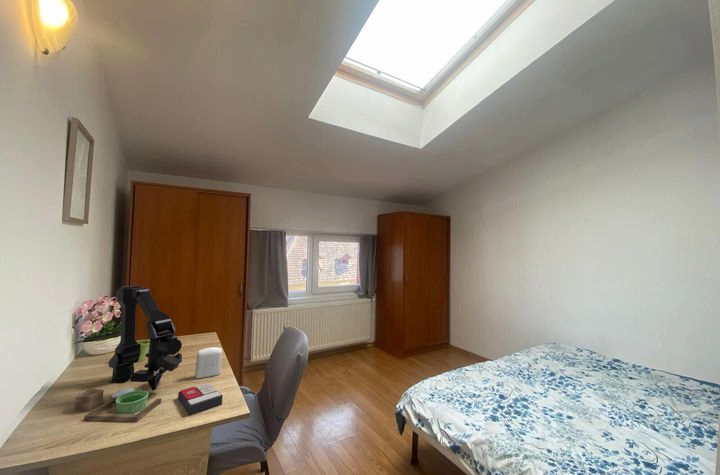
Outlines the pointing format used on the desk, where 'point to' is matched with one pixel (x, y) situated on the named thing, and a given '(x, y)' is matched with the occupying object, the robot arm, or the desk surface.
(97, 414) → the bay
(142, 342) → the plant pot
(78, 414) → the desk surface
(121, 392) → the pale grey dome
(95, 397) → the walnut block
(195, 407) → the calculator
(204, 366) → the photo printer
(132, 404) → the ramekin
